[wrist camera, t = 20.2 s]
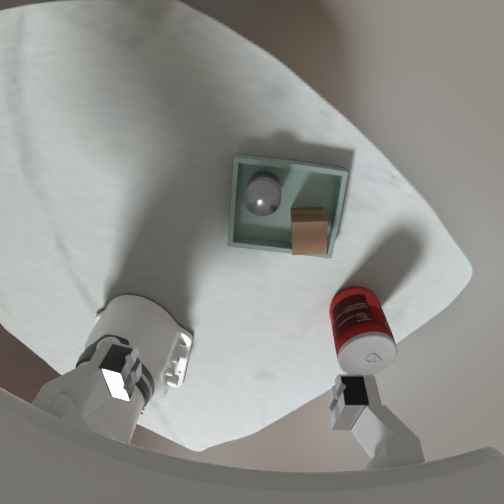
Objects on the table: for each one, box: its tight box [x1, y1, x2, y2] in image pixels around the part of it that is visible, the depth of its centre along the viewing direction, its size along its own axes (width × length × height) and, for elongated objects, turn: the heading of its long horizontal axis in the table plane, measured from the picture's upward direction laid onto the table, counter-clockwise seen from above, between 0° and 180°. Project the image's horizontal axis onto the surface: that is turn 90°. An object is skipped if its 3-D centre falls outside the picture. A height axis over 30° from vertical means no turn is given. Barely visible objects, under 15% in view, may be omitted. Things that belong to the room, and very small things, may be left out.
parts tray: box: [228, 154, 348, 258], centre depth 37 cm, size 11×13×2 cm
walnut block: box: [290, 207, 328, 255], centre depth 36 cm, size 4×4×5 cm
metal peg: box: [244, 171, 281, 216], centre depth 35 cm, size 4×4×5 cm
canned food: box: [330, 287, 397, 375], centre depth 39 cm, size 8×8×11 cm
